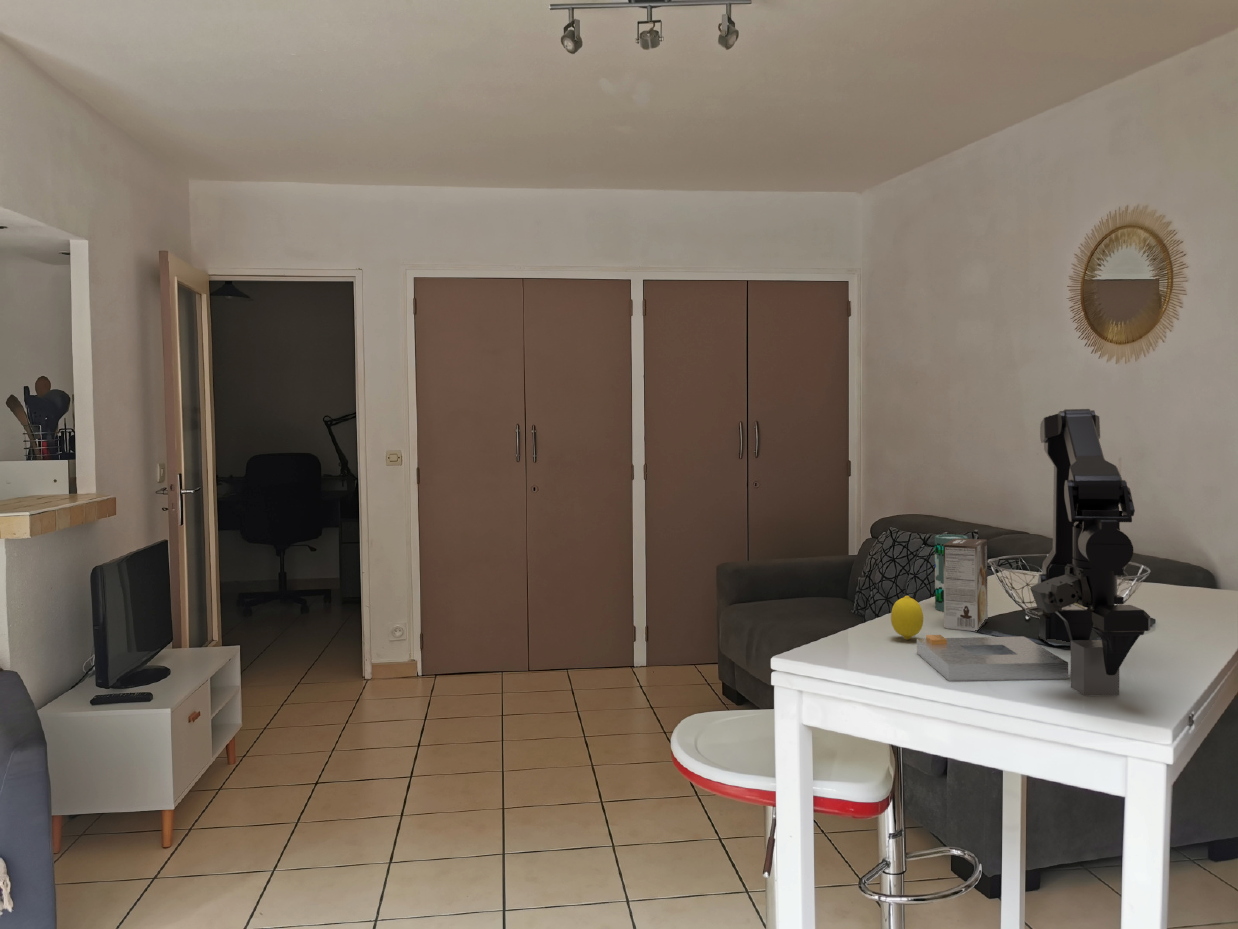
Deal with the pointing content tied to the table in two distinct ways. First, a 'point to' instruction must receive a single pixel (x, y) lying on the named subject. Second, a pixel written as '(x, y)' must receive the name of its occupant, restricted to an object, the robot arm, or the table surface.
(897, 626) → the lemon
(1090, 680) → the plug
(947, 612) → the coffee box
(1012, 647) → the socket plate
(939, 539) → the can
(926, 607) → the table surface
